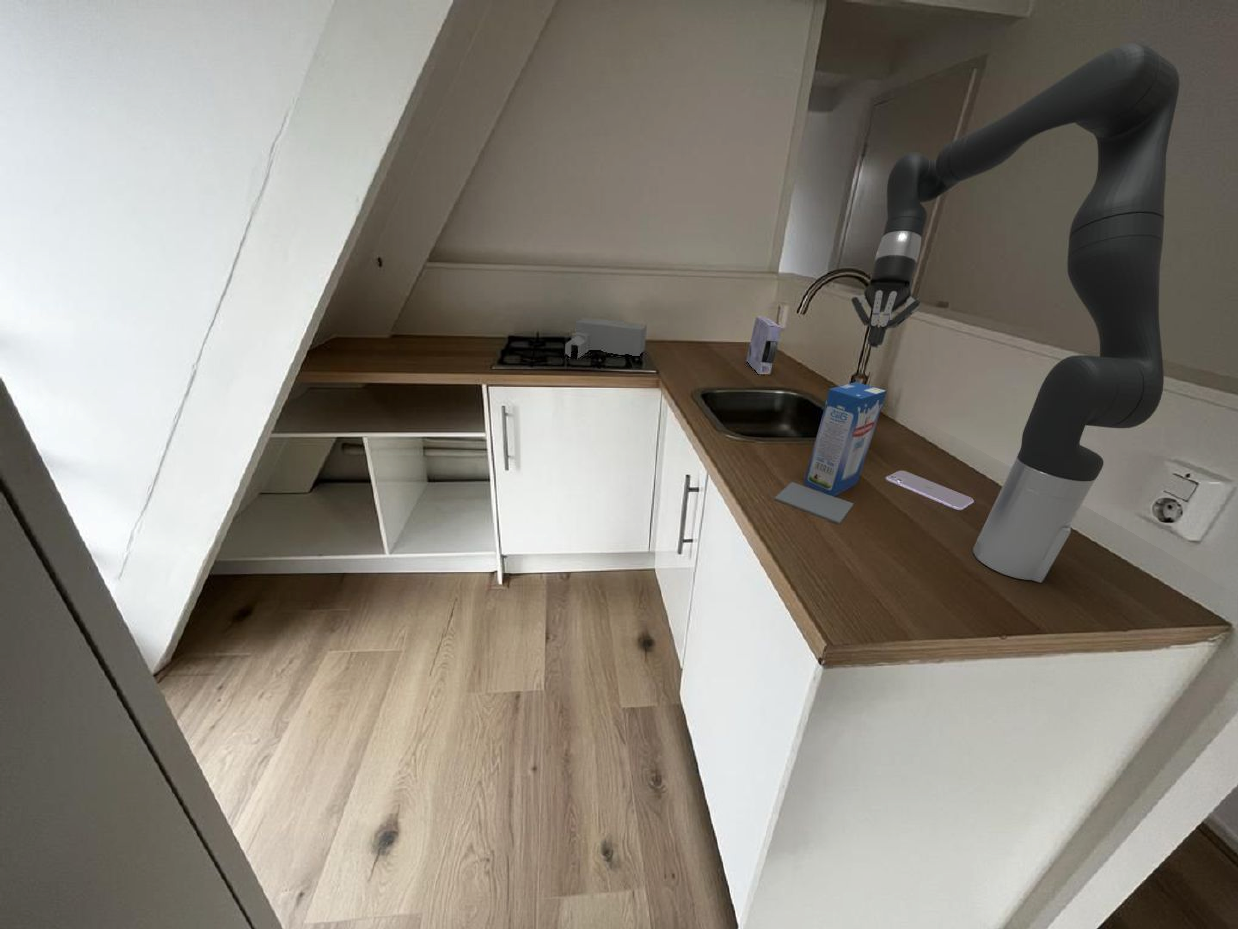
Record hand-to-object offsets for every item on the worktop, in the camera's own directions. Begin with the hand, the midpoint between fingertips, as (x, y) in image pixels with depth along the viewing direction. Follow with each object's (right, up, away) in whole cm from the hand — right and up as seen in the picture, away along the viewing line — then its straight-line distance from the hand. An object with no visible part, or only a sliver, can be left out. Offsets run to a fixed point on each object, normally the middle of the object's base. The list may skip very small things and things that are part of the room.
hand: (873, 346), depth 100 cm
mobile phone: (+12, -30, +1) cm, 32 cm away
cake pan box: (0, +11, +81) cm, 82 cm away
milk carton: (-9, -28, 0) cm, 30 cm away
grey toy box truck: (-57, +17, +85) cm, 103 cm away
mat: (-15, -31, -7) cm, 36 cm away
